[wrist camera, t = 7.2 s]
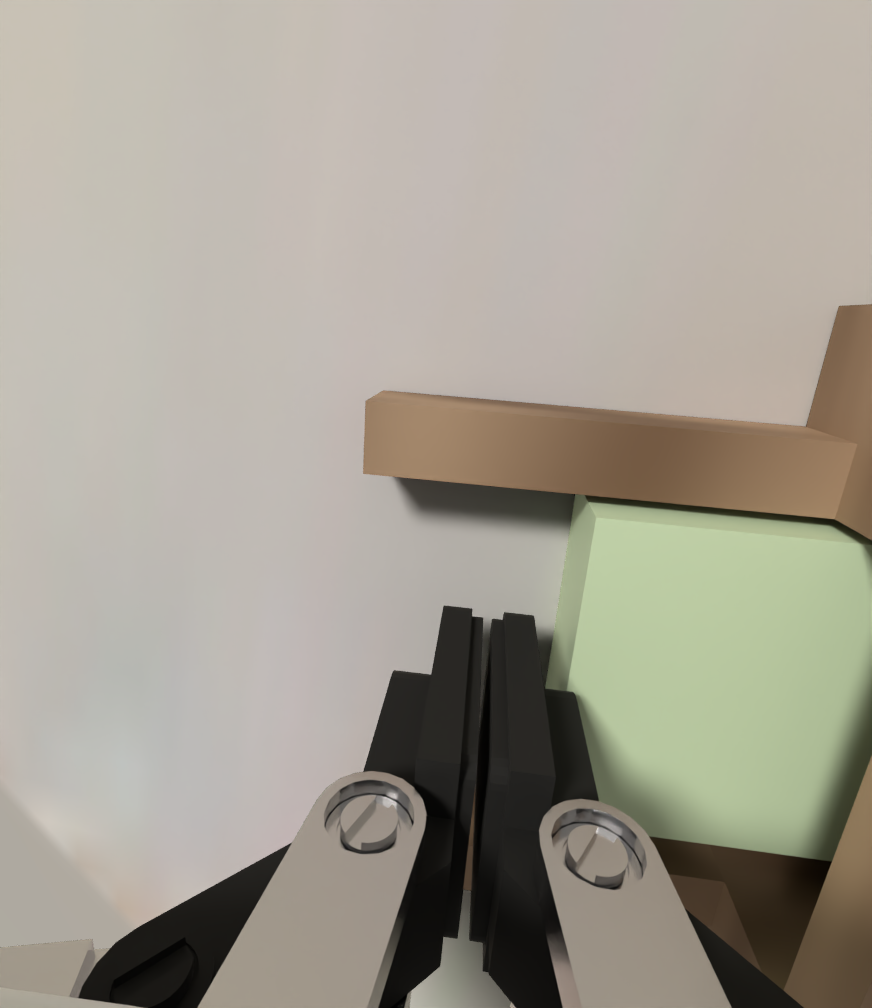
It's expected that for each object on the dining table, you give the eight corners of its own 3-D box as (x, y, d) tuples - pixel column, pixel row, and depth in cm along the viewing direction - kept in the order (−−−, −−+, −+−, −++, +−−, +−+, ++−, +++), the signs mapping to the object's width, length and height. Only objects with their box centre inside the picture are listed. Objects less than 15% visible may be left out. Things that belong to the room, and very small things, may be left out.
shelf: (361, 878, 14) (297, 1147, 10) (388, 273, 10) (294, 231, 5) (1059, 980, 13) (1372, 1345, 8) (1431, 347, 9) (2486, 376, 4)
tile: (535, 730, 13) (543, 821, 11) (574, 475, 11) (596, 517, 9) (1052, 796, 12) (1187, 910, 10) (1188, 534, 10) (1395, 598, 8)
